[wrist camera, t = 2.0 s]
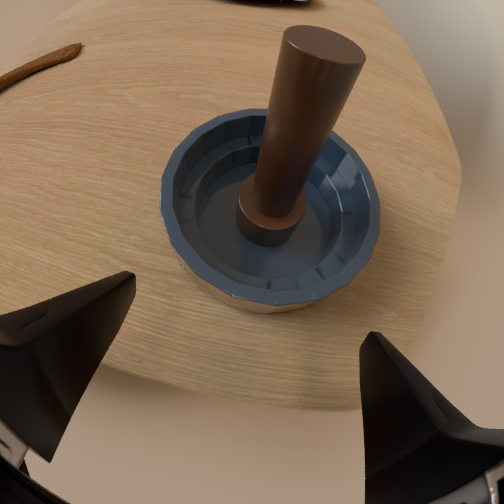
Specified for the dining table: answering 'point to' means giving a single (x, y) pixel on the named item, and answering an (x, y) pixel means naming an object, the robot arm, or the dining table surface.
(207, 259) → the bowl
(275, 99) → the pestle
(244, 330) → the dining table surface
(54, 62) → the primitive tool
